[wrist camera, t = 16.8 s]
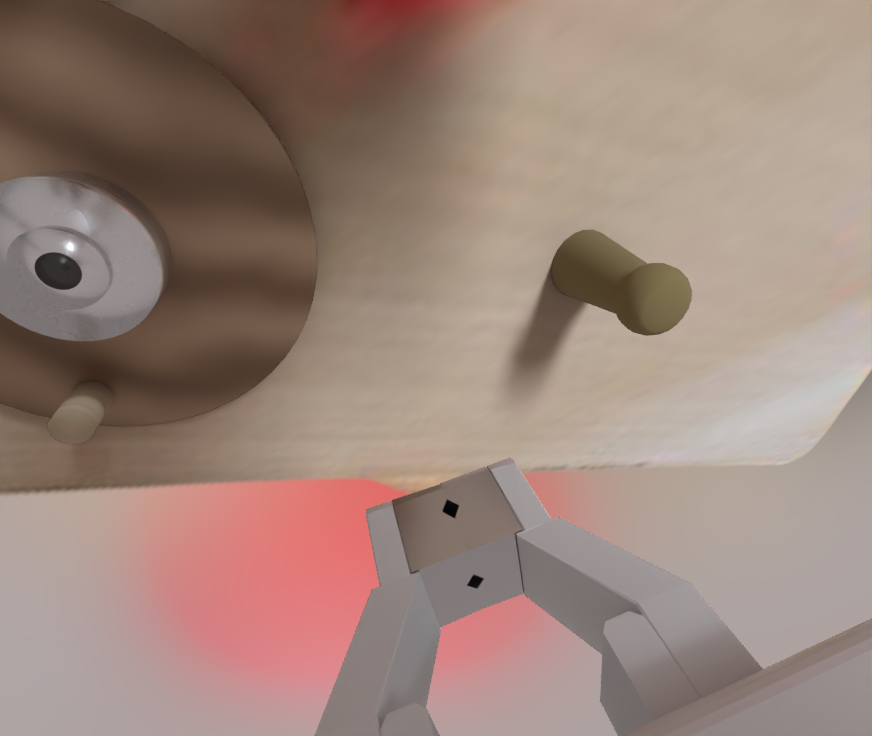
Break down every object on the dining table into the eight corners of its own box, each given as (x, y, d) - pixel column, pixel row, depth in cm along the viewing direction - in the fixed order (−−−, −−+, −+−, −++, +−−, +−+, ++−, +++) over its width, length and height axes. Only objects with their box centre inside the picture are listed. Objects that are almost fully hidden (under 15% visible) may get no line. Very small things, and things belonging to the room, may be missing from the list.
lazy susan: (-247, -138, 19) (-418, -219, 14) (355, 106, 29) (369, 104, 25) (-145, 387, 29) (-226, 440, 24) (278, 431, 39) (278, 474, 35)
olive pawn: (560, 307, 42) (638, 362, 33) (543, 250, 39) (624, 293, 29) (617, 276, 42) (709, 322, 33) (604, 217, 39) (704, 249, 30)
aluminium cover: (-14, 148, 24) (-69, 154, 20) (177, 196, 28) (160, 209, 24) (0, 304, 28) (-45, 334, 24) (167, 329, 31) (152, 358, 27)
